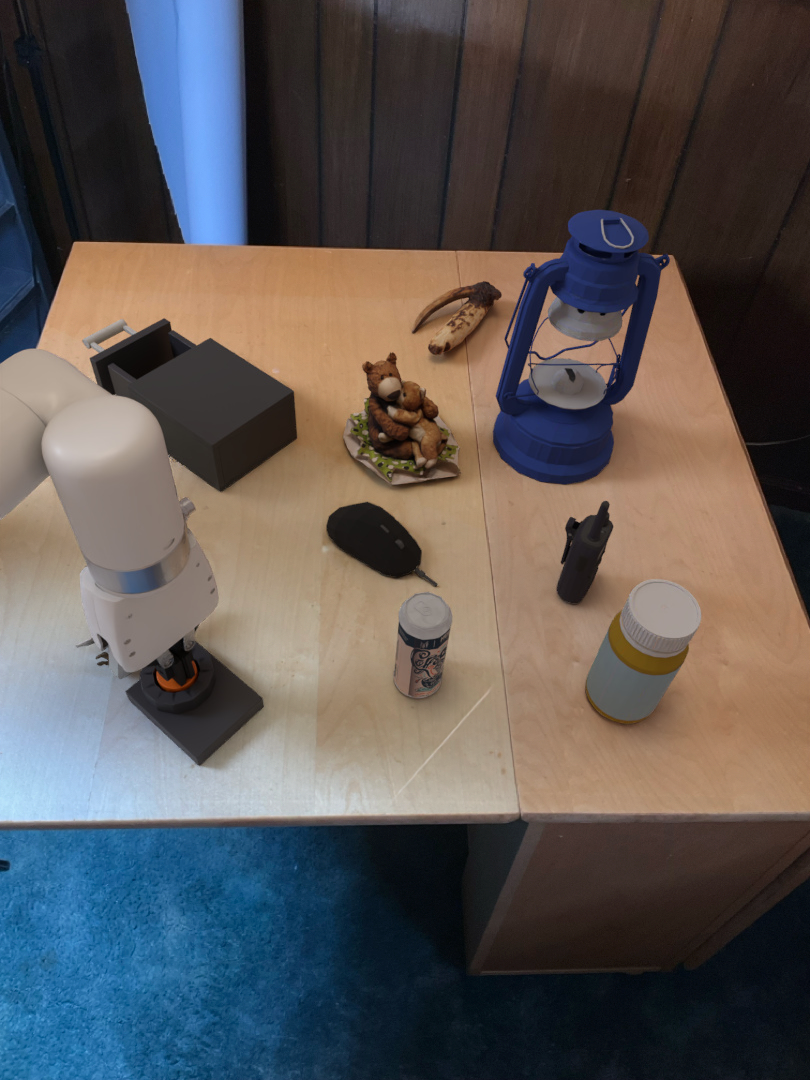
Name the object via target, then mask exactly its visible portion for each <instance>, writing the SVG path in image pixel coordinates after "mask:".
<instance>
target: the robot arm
mask: <svg viewBox="0 0 810 1080" xmlns="http://www.w3.org/2000/svg"><path fill="white" fill-rule="evenodd" d="M48 478H50V479H51V482H52V485H53V486H54V487H53V488H54V489H55V491H56V495H57V497H58V499H59V501H60V504H61V507H62V508H63V511H64V513H65V517H66V519H67V521H68V523H69V525H70V528H71V531H72V533H73V536H74V537H75V540H76V542H77V545H78V548H79V550H80V552H81V554H82V557H83V559H84V562H85V564H86V566H85V567H83V569H81V571H80V573H79V591H80V598H81V599H80V600H81V604H82V610H83V614H84V617H85V621H86V624H87V628H88V631H89V633H90V636H91V637H92V638H93V640H94V642H95V643H94V644H95V645H96V646H97V648H98V649H99V650H100V651H101V652H104V651H105V650H107V648H108V650H107V651H108V654H109V665H108V670H109V671H110V672H111V674H113V675H114V676H115V677H116V678H117V679H119V680H122V679H124V678H126V677H128V676H129V675H131V674H133V673H135V672H137V671H141V670H142V668H144V667H150V666H155V667H156V670H157V671H158V673H159V674H160V675H161V676H162V677H163V678H164V679H165V680H166V681H169V680H170V679H171V678H172V679H173V680H174V681H176V682H177V683H178V684H179V685H180V686H183V685H184V684H185V683H186V681H187V679H189V678H190V679H191V678H192V677H194V676H195V671H194V668H193V665H192V661H193V660H194V658H193V654H192V651H191V649H192V648H193V646H194V645H195V641H196V632H197V630H198V628H199V626H200V624H201V623H202V622H203V621H205V620H206V619H207V618H209V616H210V615H211V614H212V613H213V612H214V611H215V610H216V608H217V607H218V605H219V599H220V598H219V597H220V593H219V588H218V584H217V581H216V577H215V574H214V571H213V569H212V566H211V564H210V562H209V559H208V558H207V555H206V553H205V551H204V549H203V547H202V545H201V544H200V542H199V541H198V539H197V537H196V536H195V535H194V533H193V532H192V530H191V529H190V528H189V527H188V523H187V522H188V520H189V519H190V515H192V514H193V513H194V512H196V510H197V509H196V506H195V504H194V503H193V501H192V500H191V499H190V498H188V497H186V496H184V497H183V498H182V499H180V498H179V494H178V489H177V486H176V482H175V478H174V474H173V469H172V466H171V460H170V458H169V454H168V453H167V449H166V444H165V440H164V436H163V432H162V429H161V427H160V425H159V423H158V421H157V419H156V417H155V416H154V415H153V414H152V412H151V411H150V410H149V409H147V408H146V407H145V406H144V405H142V404H140V403H138V402H137V401H135V400H132V399H129V398H127V397H122V396H116V394H115V395H112V394H110V393H109V392H107V391H106V390H105V389H103V388H102V387H100V386H99V385H98V384H97V382H95V381H94V380H93V379H91V378H90V377H89V376H88V375H86V374H85V373H84V372H82V371H81V370H79V368H77V366H75V365H74V364H73V363H72V362H71V361H70V360H67V359H66V358H63V357H62V356H60V355H57V354H56V353H53V352H51V351H49V350H46V349H41V348H26V349H23V350H20V351H18V352H16V353H14V354H13V355H11V356H9V357H8V358H6V359H5V360H4V361H2V362H0V521H2V520H3V519H4V518H5V517H6V516H7V515H8V514H10V513H11V512H12V511H13V510H14V509H15V508H17V506H19V505H20V504H21V503H22V502H23V501H24V500H25V499H26V498H27V497H28V496H29V495H30V494H32V493H33V492H34V491H35V490H36V489H37V488H39V486H40V485H41V484H42V483H43V482H44V481H45V480H46V479H48Z"/></svg>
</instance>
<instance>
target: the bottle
mask: <svg viewBox="0 0 810 1080" xmlns="http://www.w3.org/2000/svg"><path fill="white" fill-rule="evenodd" d="M701 622H702V610H701V607H700V605H699V602H698V601H697V599H696V597H695V596H694V595H693V594H692V593H691V592H690V591H689V590H688V589H687V588H686V587H684V586H682V585H681V584H679V583H676V582H674V581H671V580H667V579H662V578H652V579H646V580H643V581H641V582H639V583H638V584H637V585H636V586H634V587H633V588H632V590H631V591H630V593H629V594H628V597H627V599H626V601H625V603H624V606H623V608H622V609H621V610H619V612H618V613H616V614H615V615H614V617H613V619H612V620H611V622H610V624H609V627H608V629H607V631H606V633H605V635H604V637H603V640H602V641H601V644H600V646H599V649H598V651H597V653H596V655H595V657H594V659H593V661H592V664H591V666H590V668H589V670H588V673H587V676H586V678H585V692H586V697H587V699H588V702H590V704H591V705H592V707H593V708H594V710H595V711H597V712H598V713H599V714H600V715H601V716H602V717H604V718H606V719H609V720H610V721H612V722H615V723H620V724H625V725H627V724H637V723H640V722H642V721H644V720H646V719H647V718H648V717H650V715H651V714H652V713H653V712H654V711H655V710H656V708H657V706H658V704H659V703H660V701H661V700H662V699H663V696H664V695H665V693H666V692H667V691H668V689H669V687H670V686H671V684H672V682H673V681H674V679H675V677H676V675H677V674H678V672H679V671H680V670H681V667H682V666H683V664H684V663H685V660H686V659H687V656H688V653H689V652H690V651H689V650H690V648H689V646H690V642H692V639H693V638H694V636H695V634H696V633H697V631H698V630H699V628H700V625H701Z"/></svg>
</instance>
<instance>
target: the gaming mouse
mask: <svg viewBox="0 0 810 1080" xmlns="http://www.w3.org/2000/svg"><path fill="white" fill-rule="evenodd" d="M326 533H327V536H328V537H329V539H331V541H332V542H333V543H334V544H335V545H336V547H338V548H339V549H340V550H342V551H343V552H345V553H346V554H348V555H350V556H351V557H353V558H355V559H357V560H358V561H360V562H361V563H363V564H365V565H366V566H367V567H369V568H370V569H372V570H374V571H376V572H378V573H380V574H381V575H383V576H386V577H387V576H389V577H393V578H397V579H398V578H400V577H403V576H406V575H409V574H411V573H413V571H414V573H415V574H417V575H418V576H419V577H420V578H422V579H423V578H424V579H425V580H426V581H427V582H429V583H430V584H432V586H434V587H435V588H436V587H438V585H439V583H438V582H437V581H435V580H434V579H432V578H431V577H429V576H428V575H427V573H426V572H425V571H423V570H422V569H420V568H419V566H420V565H421V560H422V553H423V552H422V551H423V550H422V548H421V547H420V546H419V544H418V542H417V540H416V539H415V538H414V537H413V535H411V534H410V531H408V530H407V528H406V527H404V525H403V524H402V523H401V522H400V521H399V520H398V519H396V517H395V516H393V514H391V513H390V512H389V511H387V510H386V509H384V508H383V507H381V506H380V505H377V504H374V503H372V502H370V501H364V502H358V503H353V504H349V505H344V506H341V507H338V508H337V509H336V510H334V511H333V512H332V513H331V514H330V515H328V519H327V522H326Z"/></svg>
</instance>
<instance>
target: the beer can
mask: <svg viewBox="0 0 810 1080" xmlns="http://www.w3.org/2000/svg"><path fill="white" fill-rule="evenodd" d="M397 616H398V625H397V636H396V649H395V660H394V669H393V673H392V677H393V678H392V679H393V682H394V685H395V686H396V688H397V690H398V691H399V692H401V694H403V695H405V696H407V697H409V698H413V699H425V698H428V697H430V696H432V695H433V694H435V693H436V692H437V691H438V690H439V688H440V687H441V685H442V681H443V679H442V678H443V673H444V672H443V671H444V666H445V660H446V656H447V650H448V644H449V638H450V632H451V627H452V624H453V616H454V615H453V611H452V609H451V607H450V605H449V604H448V603H447V602H446V601H445V600H444V598H443V597H442V596H441V595H438V594H436V593H433V592H431V591H423V592H416V593H413V595H411V596H410V597H408V598H406V599H405V601H404V602H403V603H402V604H401V606H400V607H399V610H398V615H397Z"/></svg>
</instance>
